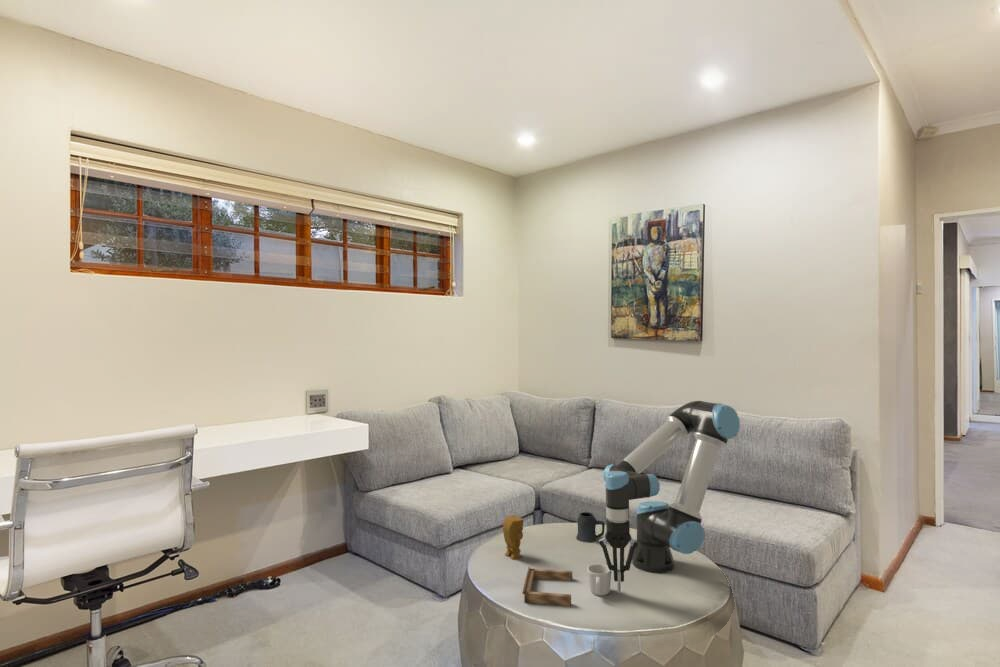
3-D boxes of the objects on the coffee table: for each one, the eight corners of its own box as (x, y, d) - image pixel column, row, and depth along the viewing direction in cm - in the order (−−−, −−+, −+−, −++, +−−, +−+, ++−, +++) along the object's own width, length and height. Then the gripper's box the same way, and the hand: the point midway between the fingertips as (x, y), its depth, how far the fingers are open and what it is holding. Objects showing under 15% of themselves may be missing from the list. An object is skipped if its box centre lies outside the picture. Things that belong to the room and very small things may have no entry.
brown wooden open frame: (572, 579, 193) (572, 569, 193) (571, 606, 174) (571, 595, 174) (528, 576, 196) (528, 566, 196) (522, 602, 177) (522, 591, 177)
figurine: (524, 557, 212) (524, 519, 212) (511, 561, 208) (511, 522, 208) (514, 552, 218) (514, 514, 218) (500, 555, 214) (500, 517, 214)
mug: (574, 543, 226) (574, 516, 226) (576, 536, 235) (576, 510, 235) (603, 546, 223) (603, 519, 223) (605, 538, 232) (605, 512, 232)
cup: (611, 603, 176) (610, 578, 176) (586, 601, 178) (585, 576, 178) (612, 587, 186) (611, 564, 186) (589, 586, 188) (588, 563, 188)
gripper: (635, 516, 184) (637, 586, 184) (598, 515, 186) (599, 584, 185) (638, 523, 177) (639, 597, 176) (599, 522, 178) (600, 595, 178)
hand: (619, 590), depth 181 cm, fingers closed
